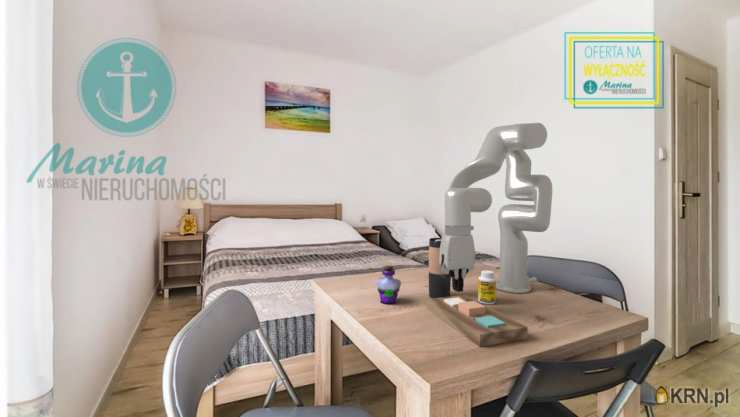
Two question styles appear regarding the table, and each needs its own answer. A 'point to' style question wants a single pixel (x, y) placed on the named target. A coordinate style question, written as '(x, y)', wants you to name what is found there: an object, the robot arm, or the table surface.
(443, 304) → the console
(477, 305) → the terracotta button
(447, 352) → the table surface
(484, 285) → the supplement bottle
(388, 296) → the potion bottle
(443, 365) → the table surface
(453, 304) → the ivory button
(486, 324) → the teal button
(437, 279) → the travel mug
